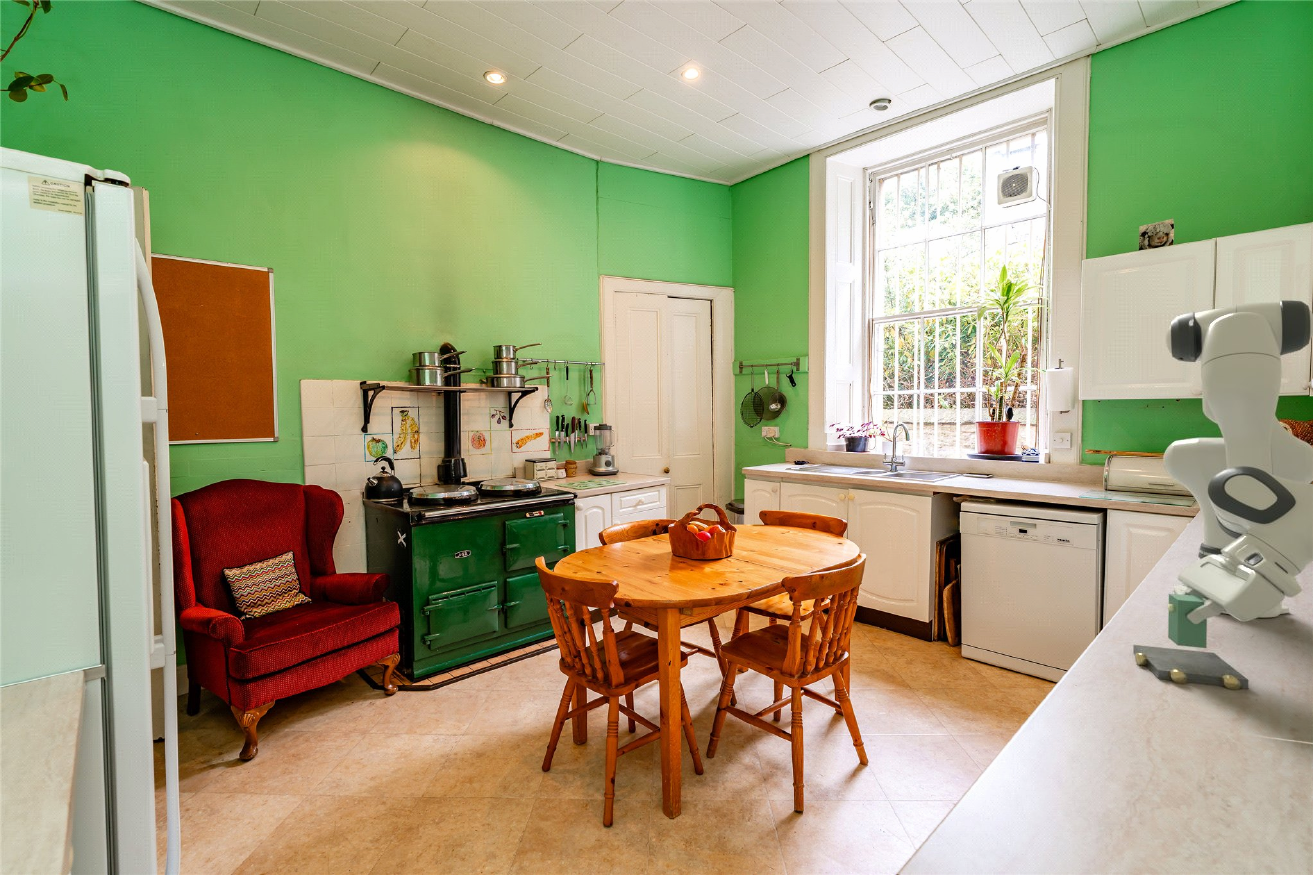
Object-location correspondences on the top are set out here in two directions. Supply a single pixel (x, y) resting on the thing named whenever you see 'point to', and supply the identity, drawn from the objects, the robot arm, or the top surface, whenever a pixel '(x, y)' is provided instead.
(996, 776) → the top surface
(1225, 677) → the level base plate
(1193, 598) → the block
